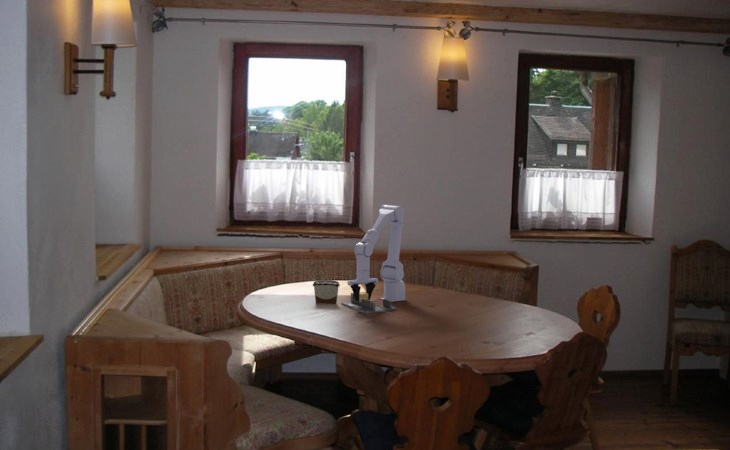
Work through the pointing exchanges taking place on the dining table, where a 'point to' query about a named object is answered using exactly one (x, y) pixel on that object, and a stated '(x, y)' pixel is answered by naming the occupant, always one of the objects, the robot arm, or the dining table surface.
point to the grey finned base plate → (387, 305)
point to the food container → (326, 291)
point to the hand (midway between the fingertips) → (362, 300)
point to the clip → (363, 296)
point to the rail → (362, 306)
